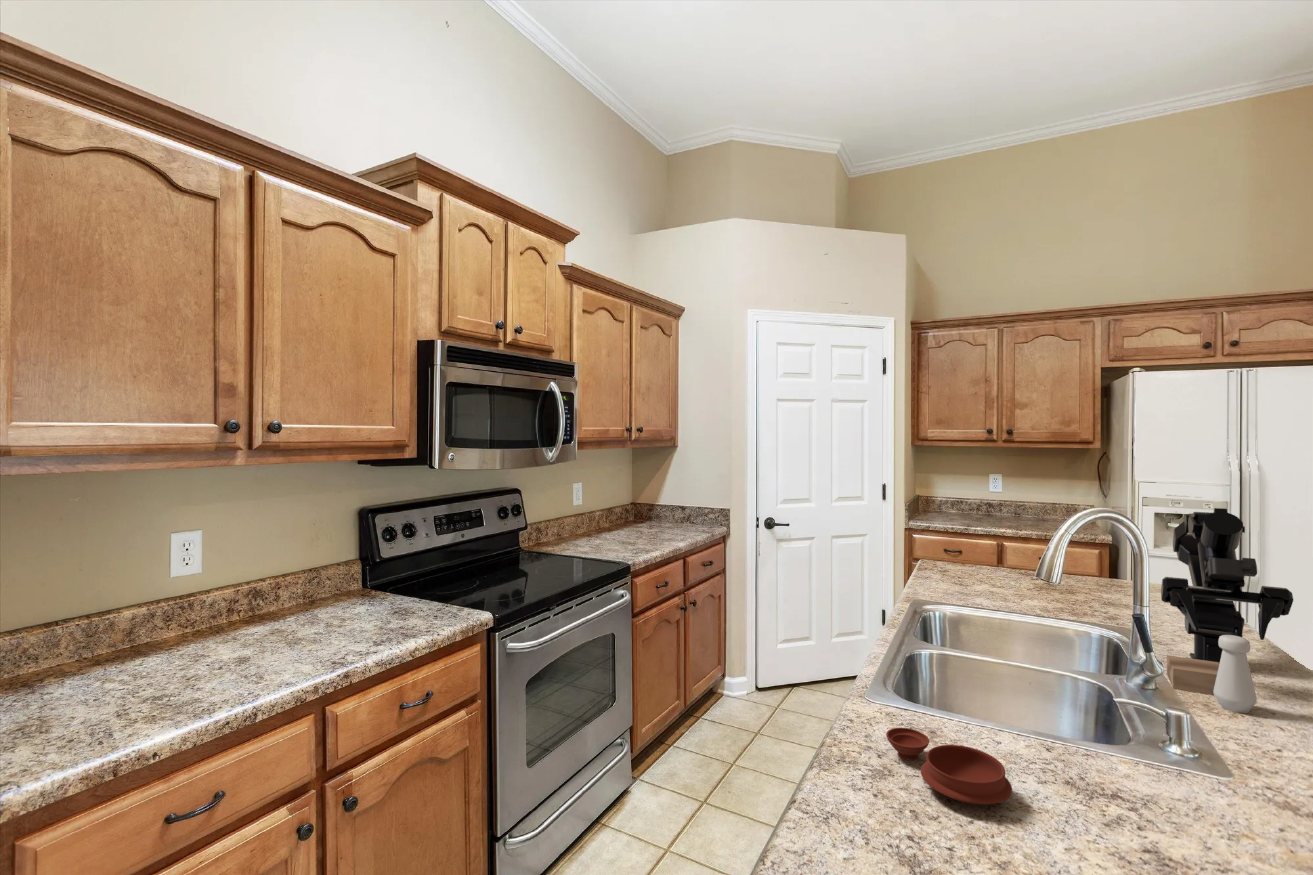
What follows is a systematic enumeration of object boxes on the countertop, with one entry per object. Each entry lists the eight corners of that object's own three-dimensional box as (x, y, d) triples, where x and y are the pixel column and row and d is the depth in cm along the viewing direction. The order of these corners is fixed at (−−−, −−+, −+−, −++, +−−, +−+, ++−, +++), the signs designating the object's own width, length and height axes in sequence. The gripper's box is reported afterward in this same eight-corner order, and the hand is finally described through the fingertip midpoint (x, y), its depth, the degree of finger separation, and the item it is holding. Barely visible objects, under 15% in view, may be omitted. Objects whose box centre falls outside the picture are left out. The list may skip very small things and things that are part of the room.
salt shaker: (1239, 701, 116) (1238, 631, 115) (1266, 715, 110) (1265, 642, 110) (1204, 700, 116) (1204, 631, 116) (1230, 714, 111) (1229, 642, 110)
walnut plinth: (1166, 674, 128) (1166, 655, 128) (1218, 682, 124) (1218, 662, 124) (1173, 688, 122) (1173, 668, 122) (1228, 697, 117) (1227, 676, 117)
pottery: (970, 827, 82) (969, 794, 82) (864, 754, 100) (864, 727, 100) (1031, 805, 86) (1031, 773, 86) (920, 739, 105) (919, 713, 105)
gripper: (1162, 537, 127) (1168, 604, 118) (1290, 545, 116) (1308, 620, 107) (1158, 568, 133) (1164, 634, 125) (1279, 578, 123) (1295, 651, 114)
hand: (1229, 634), depth 117 cm, fingers open, 9 cm apart
